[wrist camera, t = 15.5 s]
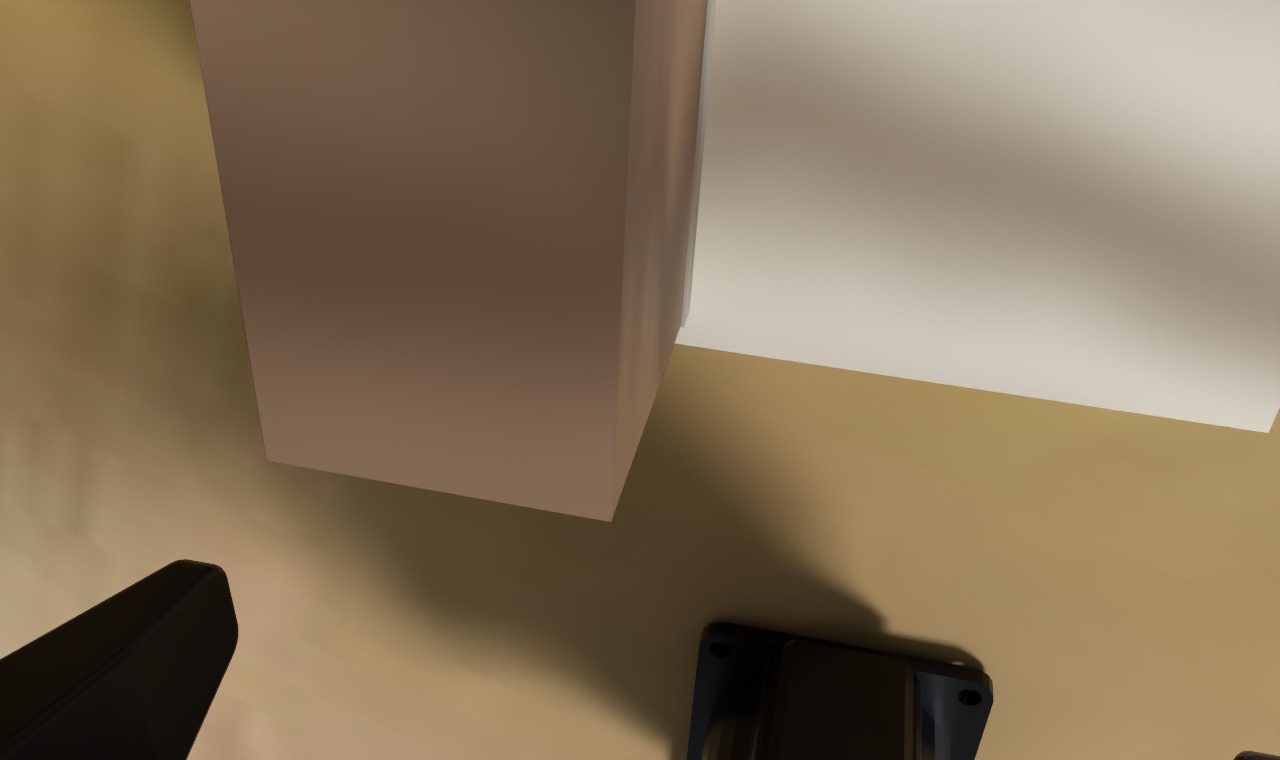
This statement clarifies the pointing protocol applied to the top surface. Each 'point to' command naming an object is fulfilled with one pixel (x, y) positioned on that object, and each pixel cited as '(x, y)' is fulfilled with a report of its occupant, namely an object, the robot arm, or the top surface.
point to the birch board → (1000, 197)
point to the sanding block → (460, 230)
